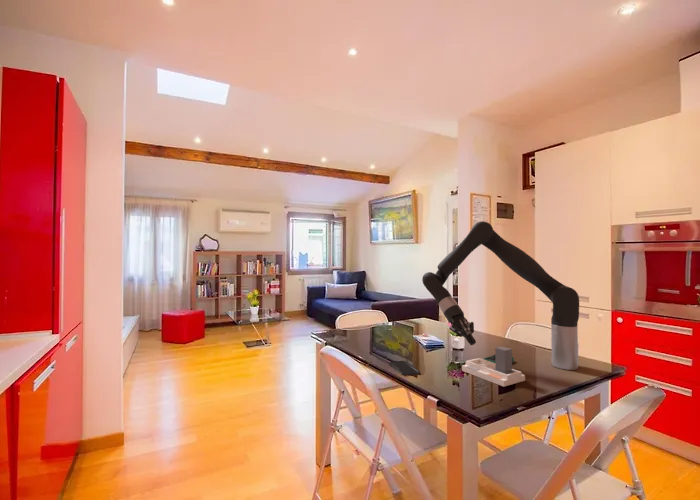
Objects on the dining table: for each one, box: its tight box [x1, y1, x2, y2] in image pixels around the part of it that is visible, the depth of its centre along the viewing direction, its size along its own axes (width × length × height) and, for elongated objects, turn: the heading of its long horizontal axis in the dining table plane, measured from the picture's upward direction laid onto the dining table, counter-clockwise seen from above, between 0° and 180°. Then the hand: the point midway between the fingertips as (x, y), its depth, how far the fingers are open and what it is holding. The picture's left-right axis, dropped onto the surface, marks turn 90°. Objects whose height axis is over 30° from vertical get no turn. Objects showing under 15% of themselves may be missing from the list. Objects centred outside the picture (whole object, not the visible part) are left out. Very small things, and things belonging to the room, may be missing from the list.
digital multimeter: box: [483, 354, 515, 363], centre depth 146 cm, size 7×15×3 cm, turn 131°
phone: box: [388, 360, 421, 377], centre depth 138 cm, size 8×1×15 cm
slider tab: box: [494, 346, 514, 374], centre depth 126 cm, size 5×5×9 cm
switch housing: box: [461, 357, 526, 387], centre depth 131 cm, size 12×19×4 cm, turn 29°
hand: (473, 343), depth 139 cm, fingers closed
